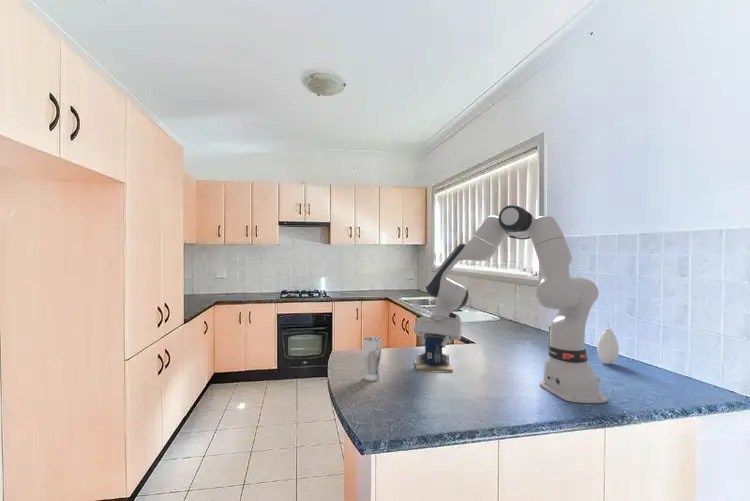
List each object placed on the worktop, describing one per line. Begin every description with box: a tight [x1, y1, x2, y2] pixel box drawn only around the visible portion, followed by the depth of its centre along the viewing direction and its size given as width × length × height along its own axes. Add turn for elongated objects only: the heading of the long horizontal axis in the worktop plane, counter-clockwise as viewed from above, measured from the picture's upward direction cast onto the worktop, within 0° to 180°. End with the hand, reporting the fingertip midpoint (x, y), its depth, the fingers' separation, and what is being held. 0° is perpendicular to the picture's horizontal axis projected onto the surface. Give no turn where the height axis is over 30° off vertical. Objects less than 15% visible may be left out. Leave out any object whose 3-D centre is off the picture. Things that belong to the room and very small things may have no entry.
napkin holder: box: [414, 351, 454, 373], centre depth 160 cm, size 13×14×5 cm
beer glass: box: [362, 336, 382, 382], centre depth 145 cm, size 7×7×15 cm
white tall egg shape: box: [596, 323, 620, 365], centre depth 168 cm, size 8×8×18 cm
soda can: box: [424, 334, 443, 367], centre depth 159 cm, size 7×7×12 cm
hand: (433, 345), depth 159 cm, fingers closed on soda can, 7 cm apart
